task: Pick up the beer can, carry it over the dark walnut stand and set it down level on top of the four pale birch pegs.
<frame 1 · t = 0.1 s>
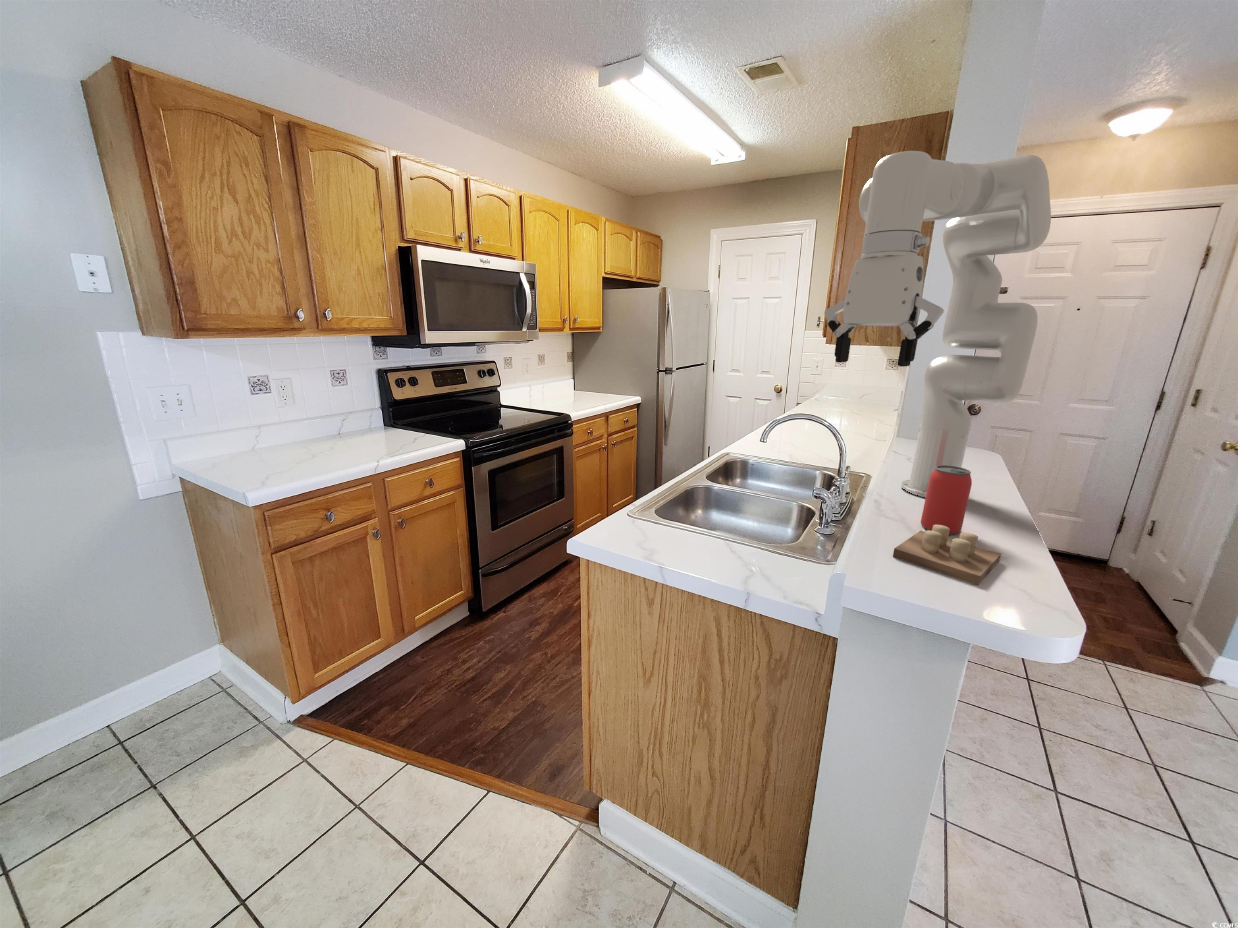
hand: (871, 364, 78), 31 cm above the table, tool pointing down, fingers open, 9 cm apart
beer can: (939, 530, 93), on the table
peg stand: (945, 559, 81), on the table
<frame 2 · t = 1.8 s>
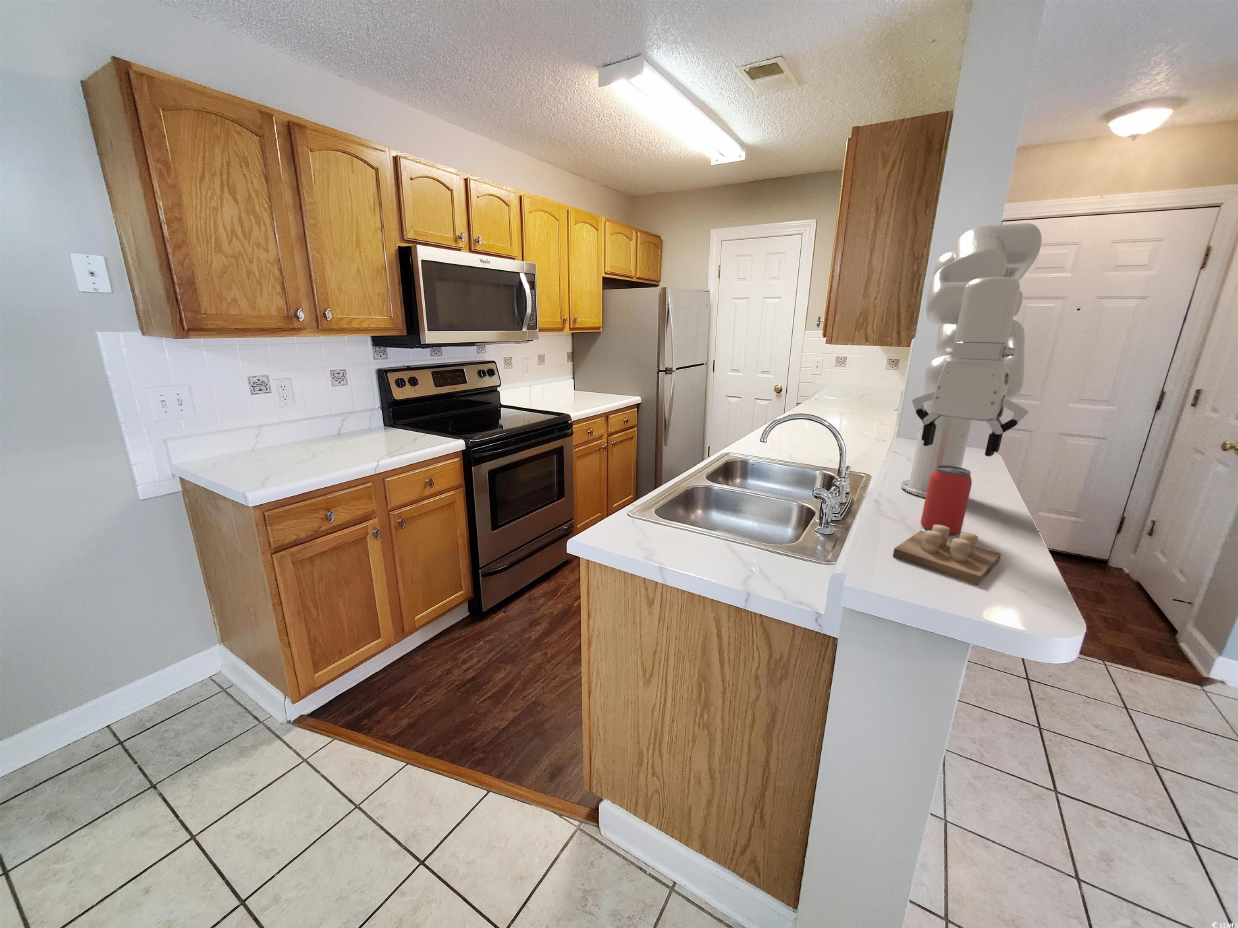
hand: (957, 450, 88), 16 cm above the table, tool pointing down, fingers open, 9 cm apart
nothing on the table moved.
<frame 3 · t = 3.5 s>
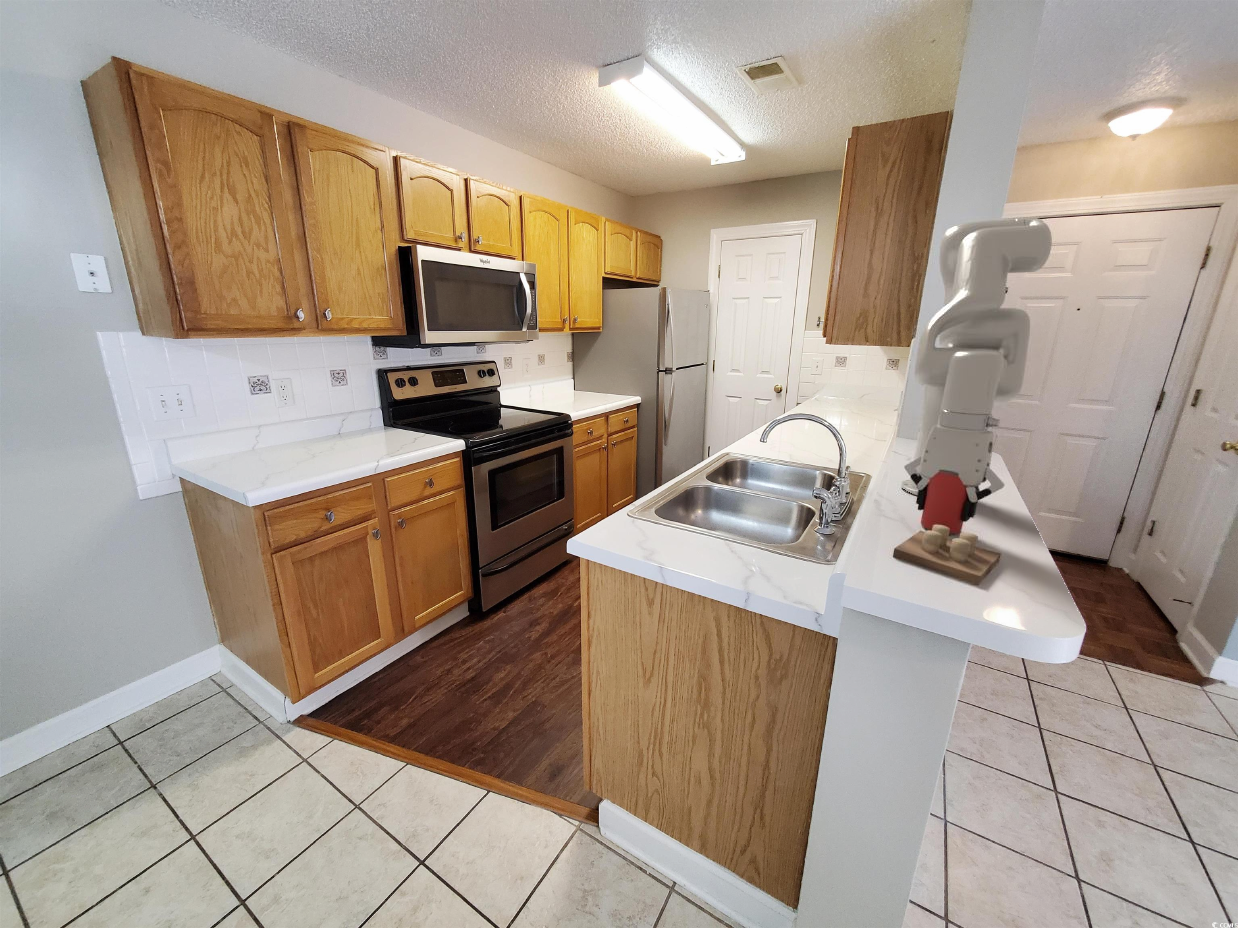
hand: (943, 513, 92), 3 cm above the table, tool pointing down, fingers closed on beer can, 6 cm apart
beer can: (939, 530, 93), on the table, touching gripper
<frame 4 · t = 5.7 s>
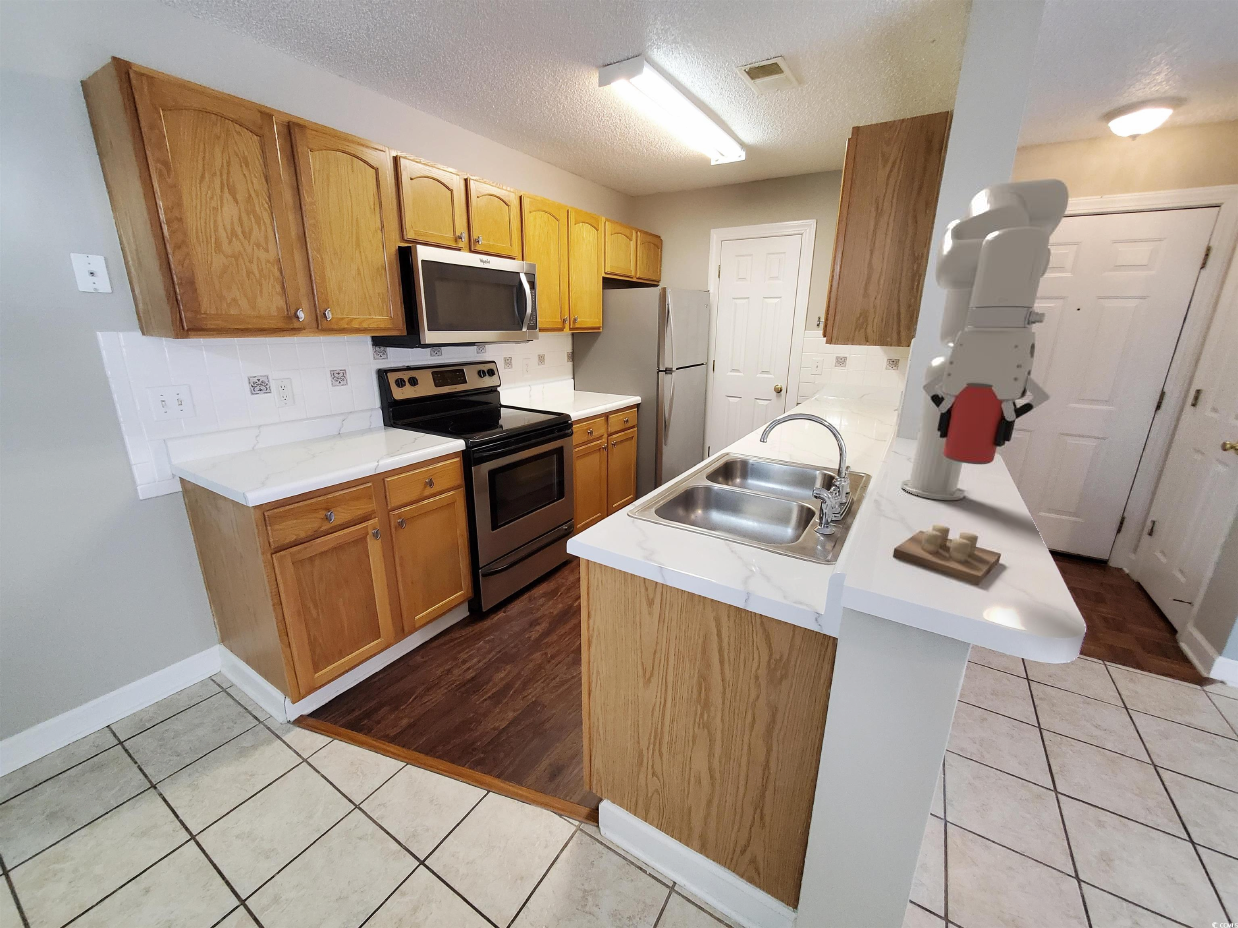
hand: (971, 440, 76), 20 cm above the table, tool pointing down, fingers closed on beer can, 6 cm apart
beer can: (966, 461, 77), point 17 cm above the table, touching gripper
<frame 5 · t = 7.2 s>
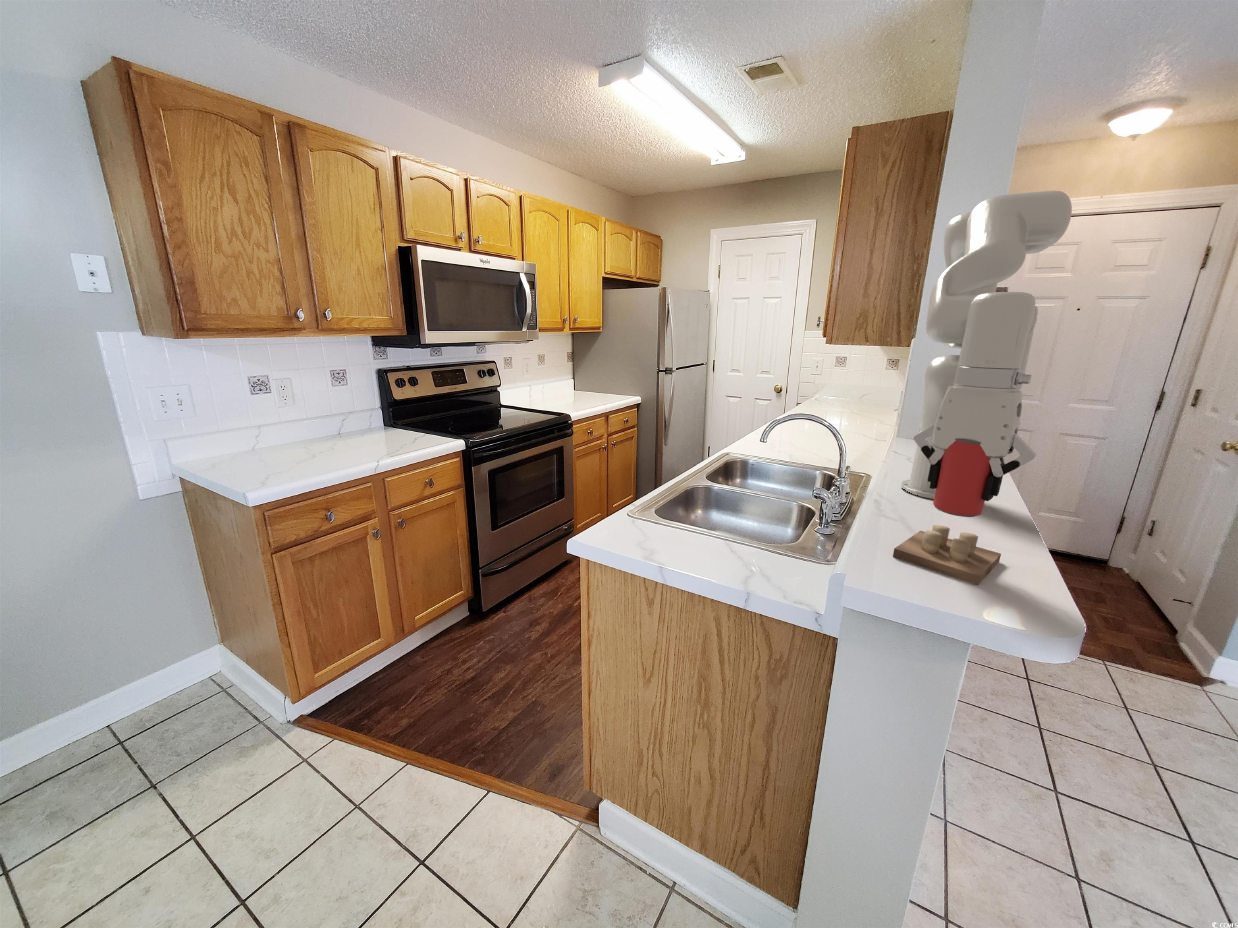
hand: (960, 492, 77), 12 cm above the table, tool pointing down, fingers closed on beer can, 6 cm apart
beer can: (956, 512, 78), point 8 cm above the table, touching gripper
when the fingers open (9 cm above the table, at t = 8.4 s): beer can stays where it is, resting on peg stand.
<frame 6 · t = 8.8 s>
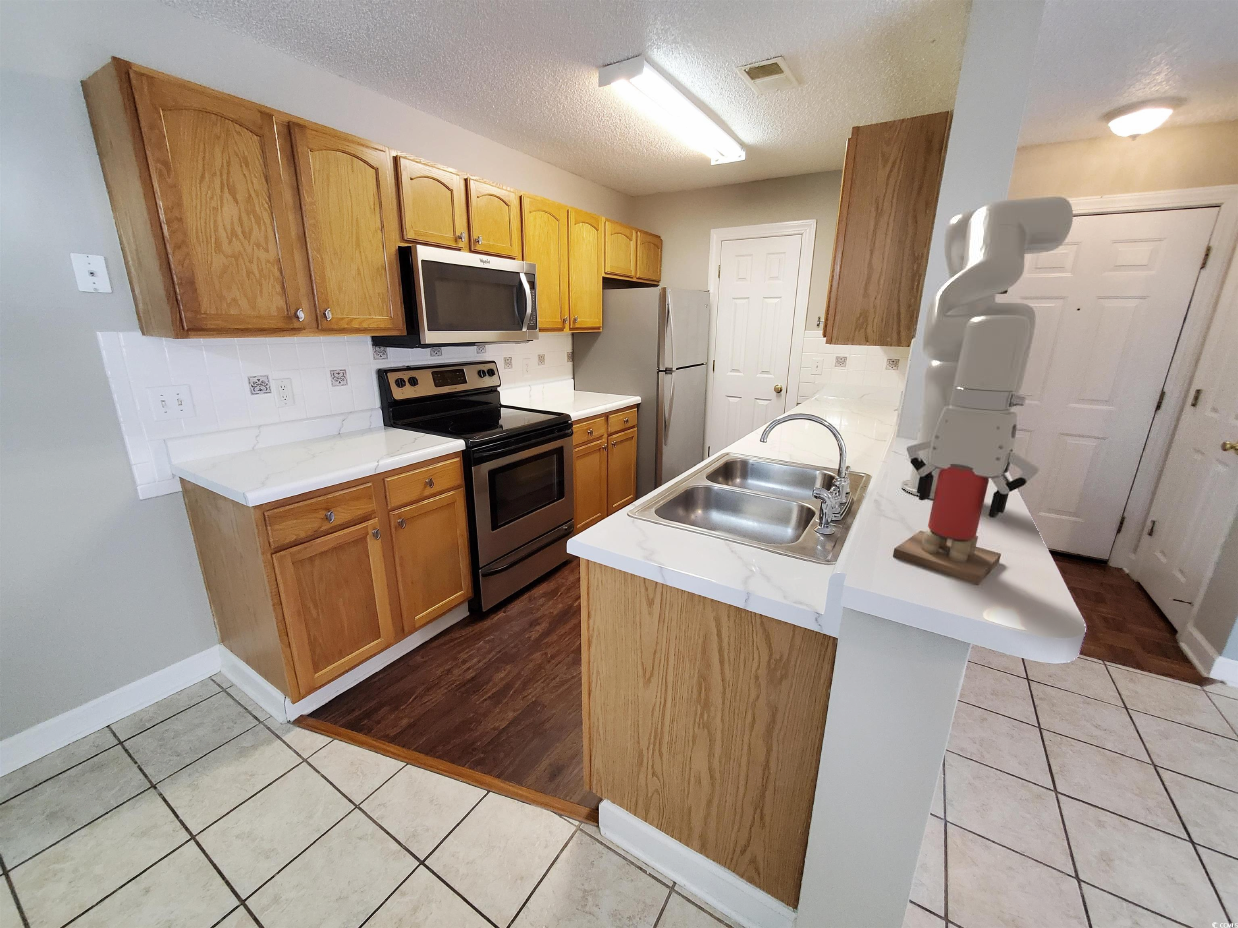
hand: (957, 506, 78), 9 cm above the table, tool pointing down, fingers open, 9 cm apart
beer can: (950, 534, 80), point 4 cm above the table, touching peg stand
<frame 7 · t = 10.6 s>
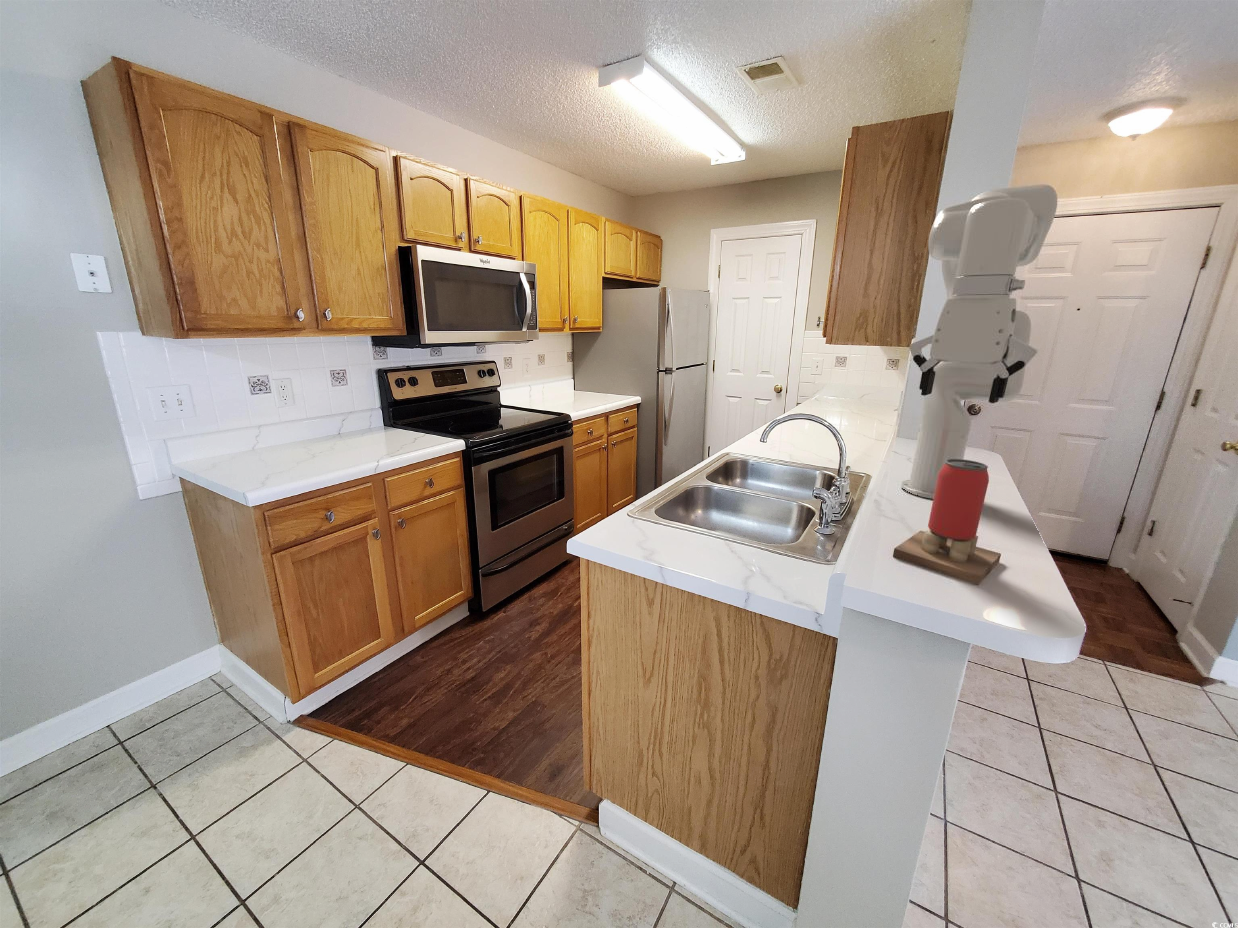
hand: (958, 398, 81), 26 cm above the table, tool pointing down, fingers open, 9 cm apart
nothing on the table moved.
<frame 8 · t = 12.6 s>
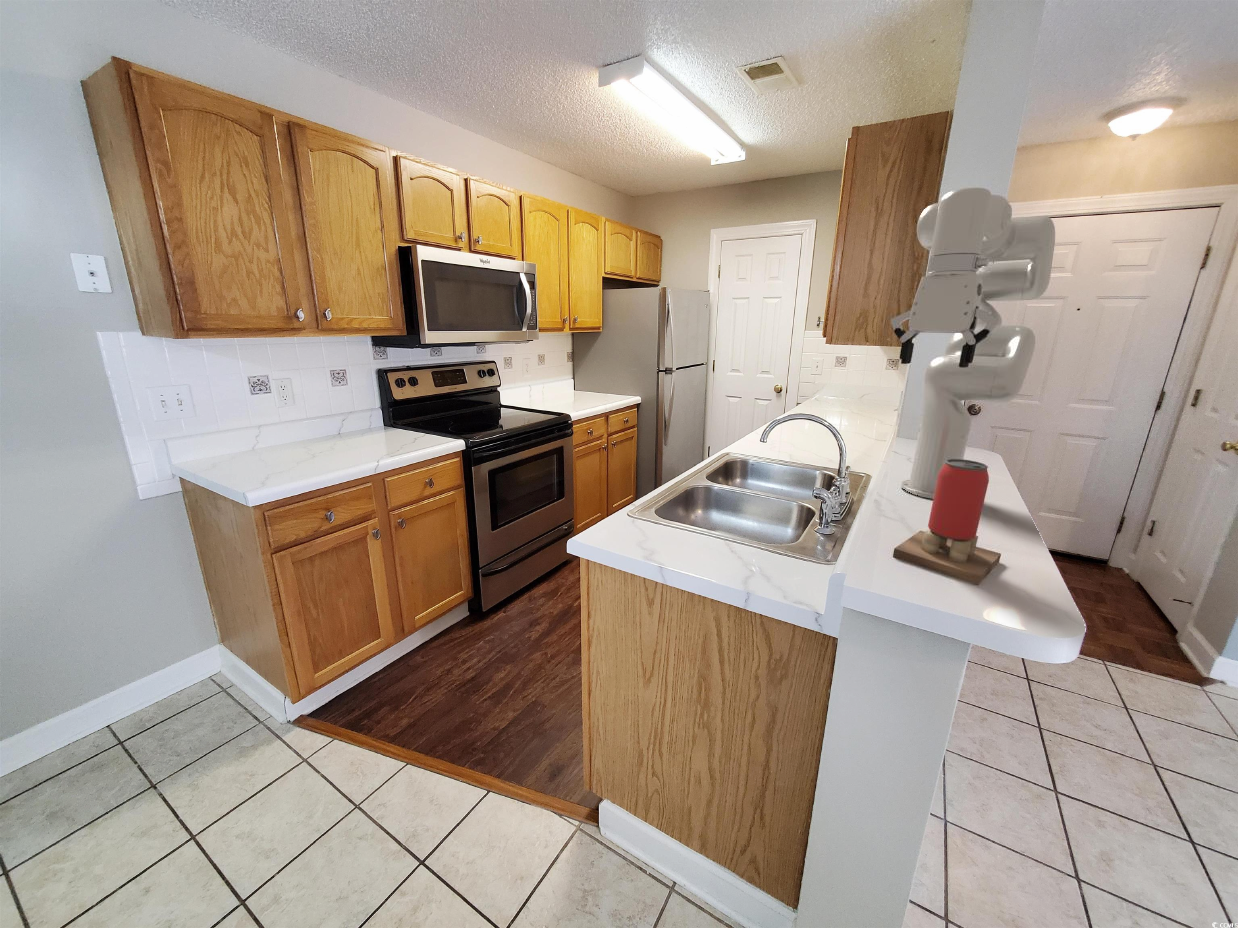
hand: (933, 365, 91), 30 cm above the table, tool pointing down, fingers open, 9 cm apart
nothing on the table moved.
at the end: beer can 0.2 cm off-centre on the peg stand, point 4.3 cm above the peg stand's base; beer can tilted 0°; the gripper is holding nothing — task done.
